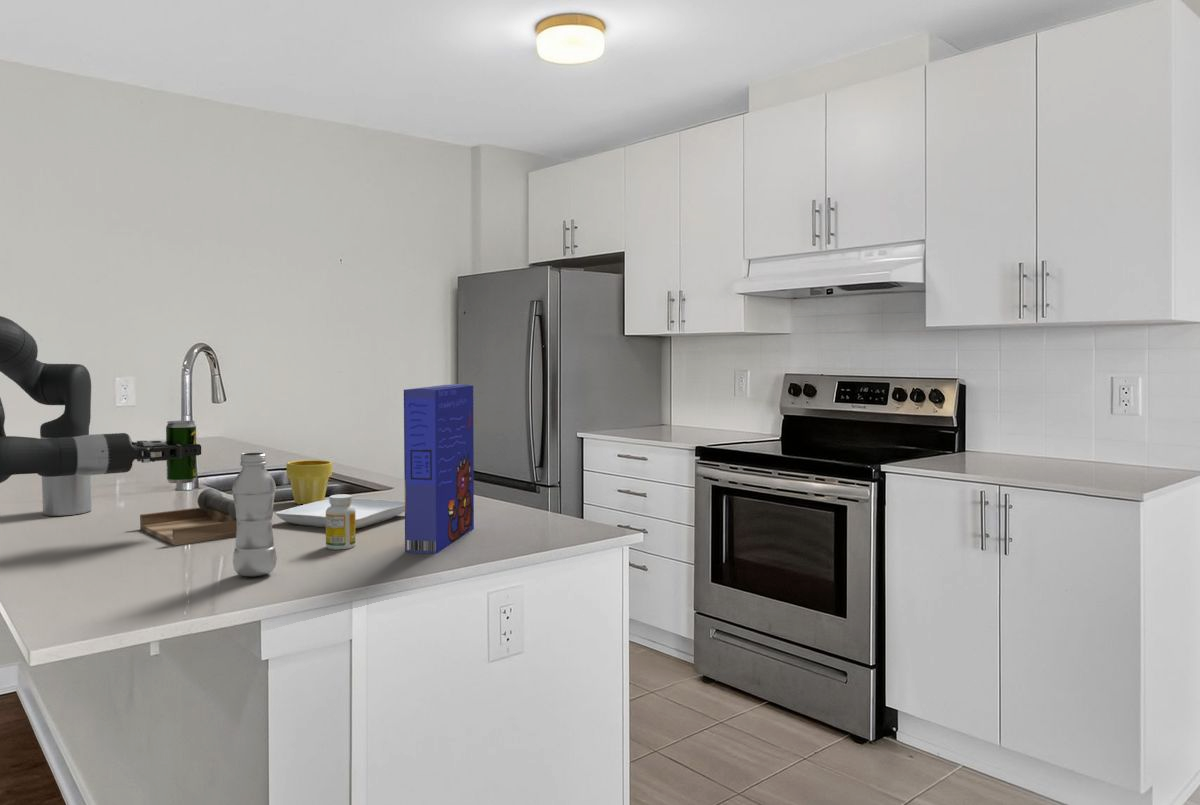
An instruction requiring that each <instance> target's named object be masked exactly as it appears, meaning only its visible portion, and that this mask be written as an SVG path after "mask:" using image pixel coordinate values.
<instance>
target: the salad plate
mask: <svg viewBox="0 0 1200 805" xmlns="http://www.w3.org/2000/svg"><path fill="white" fill-rule="evenodd" d="M330 506H331V504H330V503H329V498H328V499H324V500H322V501H317V502H313V503H309V504H305V505H297V506H294V507H290V508H287V509H283V510H278V511H275V515H276V516H277V517H278V518H279V519H281V520H283V521H285V522H287V523H291V524H295V525H299V526H308V527H319V528H326V510H327V508H328V507H330ZM350 506H353V507H354V508H355V530H356V529H361V528H365V527H369V526H371V525H375V524H377V523H381V522H385V521H387V520H390V519H393V518H394V517H397V516H399V515H402V514H403V513H405V500H403V501H402V500H393V499H380V498H365V497H364V498H363V497H352V502H351V504H350Z"/></svg>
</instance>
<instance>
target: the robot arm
mask: <svg viewBox="0 0 1200 805" xmlns="http://www.w3.org/2000/svg"><path fill="white" fill-rule="evenodd" d="M38 352H39V350H38V345H37V341H36V340H35V338H34V337H33V336H32V334H30V333H29V332H28V331H27V330H26V329H24V328H23V327H22V326H20V325H19V324H18V323H17V322H15V321H13V320H12V319H9V318H8V317H5V316H2V315H0V373H2V374H3V375H4V376H6V377H7V378H8V379H9V380H12V381H13V382H14V383H15V384H16V385H17V386H18V387H20V388H21V389H22V390H23V391H24V392H25V393H26V394H27V395H28V396H29V397H30V398H31V399H32V400H34V402H36V403H38V404H40V405H45V406H64V409H63V410H64V411H63V413H62V415H61V414H60V416H59V417H57V418H55V419H52V420H50V421H46V422H43V423H41V424H40V427H39V432H40V434H39V435H40V436H39V437H40V438H39V437H29V436H27V437H26V436H17V435H6V431H5V420H6V414H5V408H4V406H3V402H2V398H1V397H0V484H1V483H4V482H5V481H7V480H8V479H9V478H11V476H14V475H15V476H16V475H33V474H37V475H38V476H41V487H42V488H41V490H42V514H43V515H44V516H52V517H53V516H59V517H60V516H71V515H72V516H73V515H78V514H79V515H81V514H84V513H85V514H86V513H89V512H91V511H92V485H91V484H92V483H91V481H92V480H91V477H92V476H96V475H98V476H99V475H110V474H123V473H128V472H130V471H131V470H132V467H133V465H134V464H133V463H134V461H136V462H141V463H143V464H144V463H145V464H147V463H151V462H153V463H155V462H162V461H163V462H165V461H166V462H167V460H171V459H181V457H182V456H196V457H197V456H201V454H202V445H201V444H200V443H196V444H189V445H179V444H176V445H168V443H166V441H165V440H164V441H161V440H137V441H136V442H134V441H132V438H131V436H130V435H129V434H128V433H126V432H119V433H118V432H116V433H115V432H114V433H99V434H98V433H97V434H90V424H91V420H92V419H91V418H92V415H91V412H92V411H91V408H92V407H91V406H92V405H91V404H92V380H91V379H92V378H91V374H90V372H89V370H88V369H87V367H86V366H85V365H83V364H80V363H79V364H78V363H46V362H41V361H40V360H38V359H37V358H38ZM171 449H174V455H170V450H171Z"/></svg>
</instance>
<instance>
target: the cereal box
mask: <svg viewBox="0 0 1200 805" xmlns="http://www.w3.org/2000/svg"><path fill="white" fill-rule="evenodd" d="M403 441H404V442H403V453H404V454H403V455H404V456H403V457H404V460H403V461H404V462H403V463H404V475H403V476H404V478H403V479H404V501H405V512H404V552H405V553H415V554H416V553H419V554H433V555H434V554H439V552H441V551H442V550H444V549H445V548H447V547H449V546H450V545H452V544H453V543H455V542H456V541H458V540H459V539H460V538H463V537H464V536H465V535H467V534H468V533H470V532H472V531H473V530H474V529H475V524H474V523H475V522H474V521H475V513H474V510H475V508H474V507H475V506H474V505H475V503H474V502H475V500H474V499H475V498H474V494H475V493H474V492H475V490H474V489H475V488H474V484H475V483H474V482H475V481H474V480H475V479H474V477H475V475H474V473H475V472H474V471H475V470H474V469H475V466H474V461H475V460H474V453H475V452H474V385H471V384H466V383H454V384H442V385H434V386H433V385H432V386H426V387H423V386H422V387H416V388H415V387H414V388H408V389H403Z"/></svg>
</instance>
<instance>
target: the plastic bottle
mask: <svg viewBox="0 0 1200 805" xmlns="http://www.w3.org/2000/svg"><path fill="white" fill-rule="evenodd" d="M239 464H240V467H242V469H241V470H240V471H239V473H238V474H237V475H236V478H235V479H234V481H233V483H232V487H231V488H232V489H231V490H232V496H233V500H234V503H235V509H236V519H237V522H236V524H237V532H236V537H235V545H234V547H235V548H234V550H233V556H232V565H233V570H234V572H235V573H236V574H237V575H239V576H242V577H253V578H254V577H261V576H263V575H268V574H270V573H272V572H273V571H274V569H275V568H276V565H277V559H278V558H277V551H276V546H275V545H274V544H275V543H274V532H273V531H274V530H273V514H274V513H273V512H274V502H275V496H276V489H277V488H276V487H277V486H276V482H275V478H273V476H272V475H271V473H270V472H269V471H268V470H267V469H266V468H265V465H267V460H266V453H265V452H244V453H240V462H239Z"/></svg>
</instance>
